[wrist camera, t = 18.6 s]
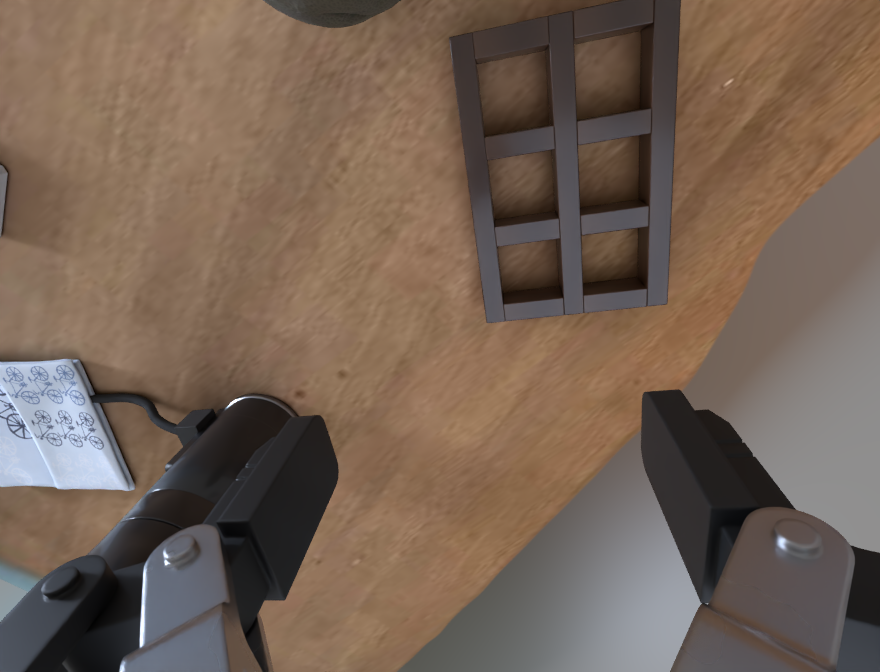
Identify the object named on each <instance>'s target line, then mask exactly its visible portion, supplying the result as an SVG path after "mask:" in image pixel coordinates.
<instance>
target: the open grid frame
mask: <svg viewBox="0 0 880 672" xmlns="http://www.w3.org/2000/svg"><path fill="white" fill-rule="evenodd" d="M680 7H681V0H620V1H615V2H611V3H606V4H601V5H597V6H592V7H587V8H583V9H578V10H574V11H569V12H564V13H559V14H555V15H550V16H545V17H541V18H536V19H532V20H527V21H522V22H518V23H513V24H509V25H504V26H499V27H495V28H490V29H485V30H481V31H476V32H473V33H467V34H462V35H458V36H453V37H449V42H450V49H451V57H452V64H453V72H454V79H455V87H456V94H457V102H458V110H459V117H460V125H461V132H462V140H463V147H464V155H465V162H466V170H467V178H468V185H469V193H470V200H471V208H472V215H473V223H474V230H475V238H476V246H477V253H478V261H479V268H480V276H481V283H482V291H483V298H484V306H485V314H486V321H487V323H494V322H503V321H512V320H522V319H532V318H541V317H551V316H560V315H570V314H580V313H589V312H599V311H608V310H618V309H628V308H637V307H646V306H656V305H665V304H667V301H668V279H669V256H670V233H671V211H672V188H673V165H674V143H675V120H676V98H677V75H678V52H679V30H680ZM637 31H641V74H640V109H638V110H632V111H627V112H621V113H615V114H610V115H604V116H598V117H593V118H587V119H581V120H577V111H576V84H575V57H574V44H579V43H584V42H588V41H593V40H598V39H603V38H608V37H613V36H618V35H623V34H628V33H633V32H637ZM540 51H545V53H546V70H547V87H548V104H549V121H550V125H547V126H541V127H536V128H530V129H524V130H519V131H513V132H507V133H502V134H496V135H490V136H486V137H485V130H484V121H483V112H482V103H481V94H480V86H479V77H478V68H477V64H481V63H486V62H491V61H496V60H500V59H505V58H510V57H515V56H520V55H525V54H530V53H535V52H540ZM637 135H640V140H639V200H631V201H624V202H617V203H610V204H603V205H596V206H589V207H582V208H580V193H579V166H578V145H583V144H589V143H595V142H601V141H607V140H613V139H619V138H625V137H631V136H637ZM547 150H551V155H552V172H553V189H554V206H555V212H547V213H540V214H533V215H526V216H519V217H512V218H505V219H498V220H495V218H494V209H493V201H492V192H491V183H490V174H489V165H488V160H493V159H499V158H505V157H511V156H517V155H523V154H529V153H535V152H541V151H547ZM634 228H638V274H637V277H635V278H627V279H618V280H609V281H601V282H592V283H583V275H582V248H581V235H588V234H596V233H603V232H611V231H619V230H626V229H634ZM552 239H556V240H557V257H558V274H559V286H557V287H548V288H540V289H531V290H522V291H514V292H505V293H503V289H502V280H501V271H500V262H499V254H498V247H499V246H506V245H514V244H521V243H529V242H536V241H544V240H552Z"/></svg>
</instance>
